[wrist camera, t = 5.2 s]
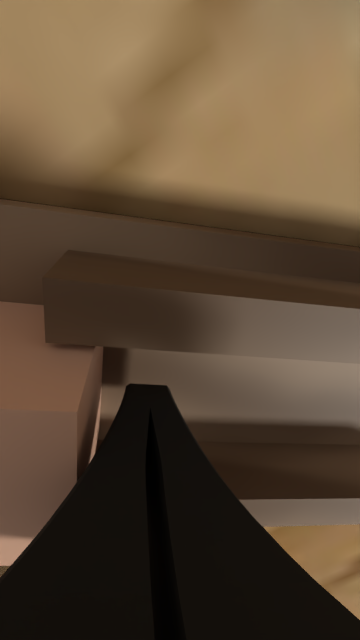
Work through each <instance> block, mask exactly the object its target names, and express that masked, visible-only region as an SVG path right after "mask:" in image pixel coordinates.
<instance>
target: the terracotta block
mask: <svg viewBox="0 0 360 640" xmlns="http://www.w3.org/2000/svg"><path fill="white" fill-rule="evenodd" d="M102 364H103V347H101V346H86V345H71V344H56V343H45V323H44V305H35V304H24V303H13V302H2V301H0V566H11V565H12V564H13V562H14V561H15V560H16V559H17V558H18V557H19V555H20V554H21V553H22V552H23V551H24V550H25V548H26V547H27V546H28V545H29V544H30V543H31V541H32V540H33V539H34V538H35V537H36V536H37V534H38V533H39V532H40V531H41V529H42V528H43V527H44V526H45V524H46V523H47V522H48V521H49V519H50V518H51V517H52V515H53V514H54V513H55V511H56V510H57V509H58V507H59V506H60V505H61V503H62V502H63V501H64V499H65V498H66V497H67V495H68V494H69V493H70V491H71V490H72V488H73V487H74V486H75V484H76V483H77V481H78V480H79V478H80V477H81V475H82V474H83V472H84V471H85V469H86V468H87V466H88V465H89V463H90V462H91V460H92V458H93V457H94V455H95V451H96V446H97V440H98V434H99V428H100V406H101V385H102Z"/></svg>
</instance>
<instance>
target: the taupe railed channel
mask: <svg viewBox="0 0 360 640" xmlns="http://www.w3.org/2000/svg"><path fill="white" fill-rule="evenodd" d="M0 301H2V302H13V303H24V304H35V305H44V323H45V343H56V344H71V345H86V346H101V347H103V364H102V385H101V406H100V428H99V434H98V440H97V446H96V451H97V450H98V448H99V446H100V445H101V443H102V441H103V440H104V438H105V436H106V434H107V432H108V430H109V428H110V426H111V424H112V422H113V420H114V418H115V416H116V414H117V412H118V410H119V407H120V405H121V402H122V399H123V396H124V393H125V388H126V386H127V385H128V384H130V383H133V384H152V385H167V386H168V388H169V389H170V391H171V394H172V396H173V398H174V401H175V403H176V405H177V407H178V409H179V411H180V413H181V415H182V417H183V418H184V420H185V422H186V424H187V426H188V427H189V429H190V431H191V432H192V434H193V436H194V438H195V439H196V441H197V442H198V444H199V446H200V447H201V449H202V450H203V452H204V453H205V455H206V456H207V458H208V459H209V461H210V462H211V464H212V465H213V467H214V468H215V469H216V471H217V472H218V474H219V475H220V476H221V478H222V479H223V480H224V482H225V483H226V484H227V486H228V487H229V488H230V489H231V491H232V492H233V493H234V494H235V496H236V497H237V498H238V499H239V500H240V502H241V503H242V504H243V505H244V506H245V508H246V509H247V510H248V511H249V512H250V514H251V515H252V516H253V517H254V518H255V519H256V520H257V521H258V522H259V523H260V525H261V526H262V527H272V526H311V525H351V524H360V247H354V246H346V245H339V244H332V243H324V242H317V241H309V240H302V239H294V238H287V237H280V236H272V235H265V234H257V233H250V232H243V231H235V230H228V229H220V228H213V227H206V226H198V225H191V224H183V223H176V222H168V221H161V220H154V219H146V218H139V217H131V216H124V215H117V214H109V213H102V212H94V211H87V210H80V209H72V208H65V207H57V206H50V205H42V204H35V203H28V202H20V201H13V200H5V199H0ZM96 451H95V453H96Z"/></svg>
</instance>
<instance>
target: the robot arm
mask: <svg viewBox="0 0 360 640" xmlns="http://www.w3.org/2000/svg"><path fill="white" fill-rule="evenodd" d="M0 640H360V620H359V619H358V618H357V617H356V616H354V615H353V614H352V613H351V612H350V611H349V610H348V609H347V608H345V607H344V606H343V605H342V604H341V603H340V602H339V601H338V600H336V599H335V598H334V597H333V596H332V595H331V594H330V593H329V592H327V591H326V590H325V589H324V588H323V587H322V586H321V585H320V584H318V583H317V582H316V581H315V580H314V579H313V578H312V577H311V576H310V575H309V574H308V573H307V572H306V571H305V570H304V569H303V568H302V567H301V566H300V565H299V564H298V563H297V562H296V561H295V560H294V559H293V558H292V557H291V556H290V555H289V554H288V553H287V552H286V551H285V550H284V549H283V548H282V547H281V546H280V545H279V544H278V543H277V542H276V541H275V540H274V539H273V537H272V536H271V535H270V534H269V533H268V532H267V531H266V530H265V529H264V528H263V527H262V526H261V525H260V523H259V522H258V521H257V520H256V519H255V518H254V517H253V516H252V515H251V514H250V512H249V511H248V510H247V509H246V508H245V506H244V505H243V504H242V503H241V502H240V500H239V499H238V498H237V497H236V496H235V494H234V493H233V492H232V491H231V489H230V488H229V487H228V486H227V484H226V483H225V482H224V480H223V479H222V478H221V476H220V475H219V474H218V472H217V471H216V469H215V468H214V467H213V465H212V464H211V462H210V461H209V459H208V458H207V456H206V455H205V453H204V452H203V450H202V449H201V447H200V446H199V444H198V442H197V441H196V439H195V438H194V436H193V434H192V432H191V431H190V429H189V427H188V426H187V424H186V422H185V420H184V418H183V417H182V415H181V413H180V411H179V409H178V407H177V405H176V403H175V401H174V398H173V396H172V394H171V391H170V389H169V388H168V386H167V385H152V384H133V383H130V384H128V385H127V386H126V388H125V393H124V396H123V399H122V402H121V405H120V407H119V410H118V412H117V414H116V416H115V418H114V420H113V422H112V424H111V426H110V428H109V430H108V432H107V434H106V436H105V438H104V440H103V441H102V443H101V445H100V446H99V448H98V450H97V451H96V453H95V455H94V457H93V458H92V460H91V462H90V463H89V465H88V466H87V468H86V469H85V471H84V472H83V474H82V475H81V477H80V478H79V480H78V481H77V483H76V484H75V486H74V487H73V488H72V490H71V491H70V493H69V494H68V495H67V497H66V498H65V499H64V501H63V502H62V503H61V505H60V506H59V507H58V509H57V510H56V511H55V513H54V514H53V515H52V517H51V518H50V519H49V521H48V522H47V523H46V524H45V526H44V527H43V528H42V529H41V531H40V532H39V533H38V534H37V536H36V537H35V538H34V539H33V540H32V541H31V543H30V544H29V545H28V546H27V547H26V548H25V550H24V551H23V552H22V553H21V554H20V555H19V557H18V558H17V559H16V560H15V561H14V562H13V564H12V565H11V566H10V567H9V568H8V569H7V571H6V572H5V573H4V574H3V575H2V576H1V578H0Z"/></svg>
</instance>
